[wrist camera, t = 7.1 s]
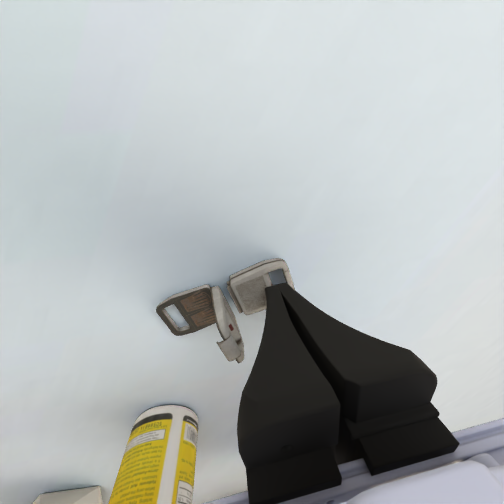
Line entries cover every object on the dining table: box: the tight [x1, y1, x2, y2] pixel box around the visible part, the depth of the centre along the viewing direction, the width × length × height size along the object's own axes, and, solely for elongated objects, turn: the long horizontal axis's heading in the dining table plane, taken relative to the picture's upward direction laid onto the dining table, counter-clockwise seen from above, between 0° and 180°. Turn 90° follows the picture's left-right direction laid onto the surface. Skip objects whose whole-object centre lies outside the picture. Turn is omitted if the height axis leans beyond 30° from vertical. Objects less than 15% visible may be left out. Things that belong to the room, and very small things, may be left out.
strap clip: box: [156, 258, 295, 364], centre depth 11 cm, size 8×3×4 cm, turn 110°
